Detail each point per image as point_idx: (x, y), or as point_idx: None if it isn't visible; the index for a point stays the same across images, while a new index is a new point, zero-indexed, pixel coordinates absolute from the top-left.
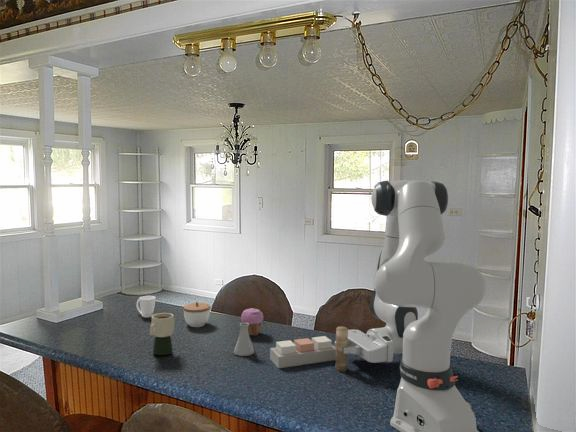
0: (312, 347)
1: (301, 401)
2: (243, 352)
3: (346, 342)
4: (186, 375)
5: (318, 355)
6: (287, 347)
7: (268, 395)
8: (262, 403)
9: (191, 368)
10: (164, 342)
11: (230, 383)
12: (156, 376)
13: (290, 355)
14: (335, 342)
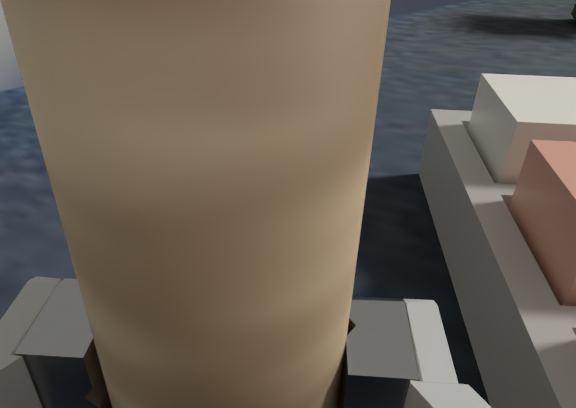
0: (571, 257)
1: (29, 141)
2: None
3: (79, 286)
4: (420, 32)
5: (510, 352)
6: (493, 98)
7: None
8: None
9: (472, 40)
10: None
11: None
12: (428, 12)
13: (447, 147)
14: (399, 300)
